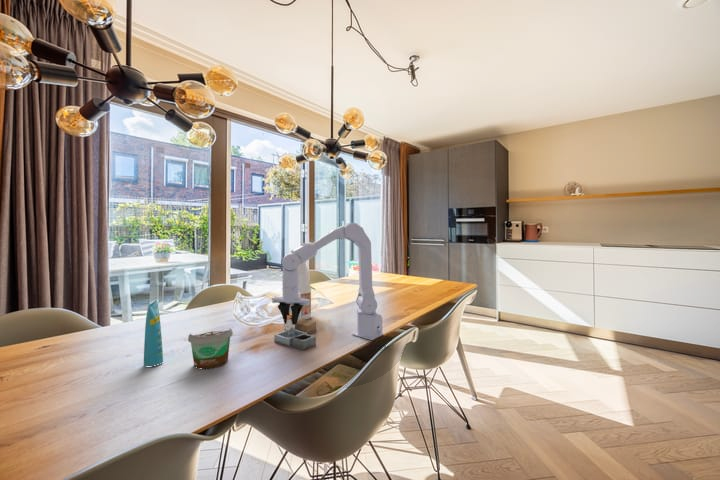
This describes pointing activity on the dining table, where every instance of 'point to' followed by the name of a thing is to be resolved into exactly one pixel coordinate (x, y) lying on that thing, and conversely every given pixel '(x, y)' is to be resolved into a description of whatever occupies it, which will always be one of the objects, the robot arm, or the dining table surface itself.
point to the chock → (306, 326)
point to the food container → (210, 348)
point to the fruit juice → (304, 289)
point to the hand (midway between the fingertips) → (290, 323)
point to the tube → (153, 336)
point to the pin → (290, 326)
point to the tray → (285, 337)
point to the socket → (303, 341)
